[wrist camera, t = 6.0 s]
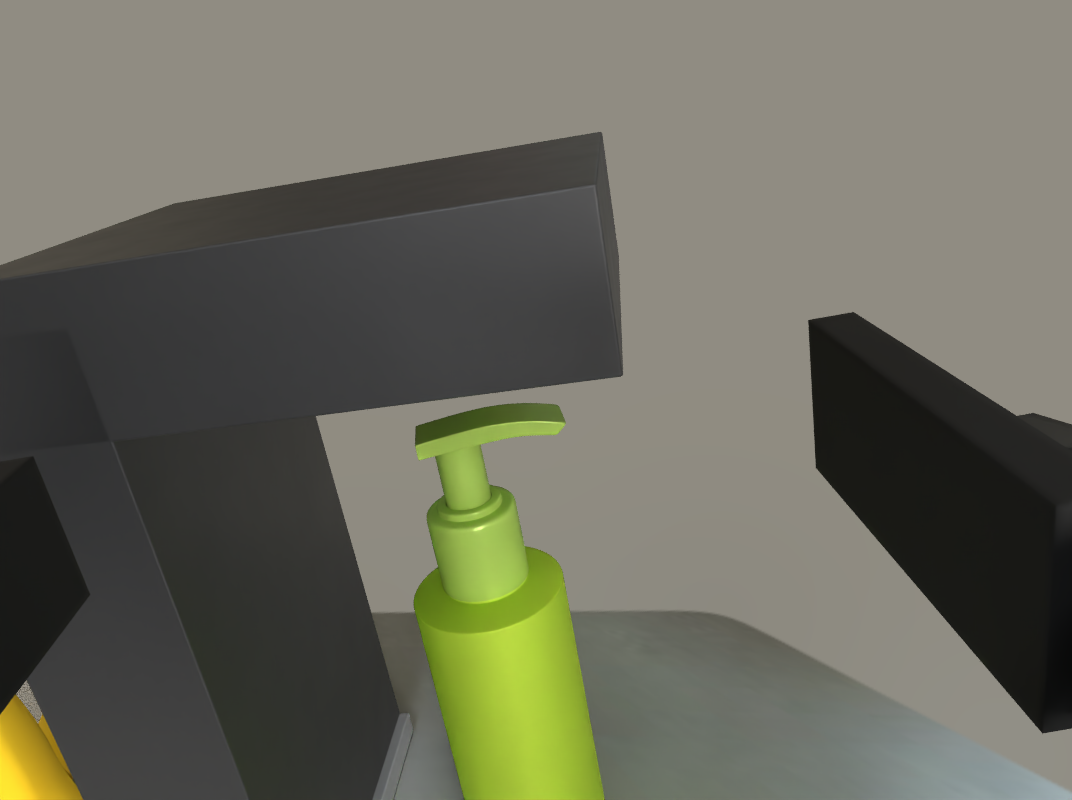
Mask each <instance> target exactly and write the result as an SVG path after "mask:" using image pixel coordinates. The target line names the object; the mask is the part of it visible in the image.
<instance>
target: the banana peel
mask: <svg viewBox="0 0 1072 800" xmlns="http://www.w3.org/2000/svg"><path fill="white" fill-rule="evenodd" d="M72 779H73V777H72V775H71V773H70V771H69V769H68V767H67V764H66V762H65V760H64V758H63V756H62V754H61V752H60V750H59V748H58V745H57V743H56V741H55V739H54V737H53V735H52V733H51V731H50V728H49V726H48V724H47V722H46V720H45V718H44V716H43V714H42V716H41V719H40V721H39V723H37V722H36V720H35V719H34V717H33V716H32V715H31V713H30V712H29V711H28V709H27V708H26V707H25V705H24V704H23V703H22V701H21V700H20V699H19V698H18V697H17V696H16V694H15V696H14V697H13V698H12V700H11V701H10V702H9V704H8V705H7V706H6V708H5V709H4V710H3V712H2V713H1V714H0V800H83V798H82V796H81V794H80V792H79V790H78V788H77V786H76V784H75V783H74V782H73V780H72Z"/></svg>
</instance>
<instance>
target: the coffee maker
mask: <svg viewBox="0 0 1072 800" xmlns="http://www.w3.org/2000/svg"><path fill="white" fill-rule="evenodd" d="M619 281H620V280H619V255H618V248H617V240H616V233H615V225H614V218H613V210H612V204H611V196H610V188H609V181H608V174H607V166H606V159H605V151H604V144H603V136H602V133H601V132H597V133H591V134H585V135H580V136H573V137H567V138H561V139H556V140H550V141H543V142H538V143H531V144H525V145H520V146H514V147H508V148H502V149H496V150H490V151H484V152H479V153H472V154H466V155H461V156H455V157H449V158H442V159H436V160H430V161H425V162H418V163H413V164H407V165H401V166H395V167H389V168H383V169H377V170H371V171H365V172H359V173H353V174H347V175H341V176H335V177H329V178H323V179H317V180H311V181H305V182H300V183H293V184H288V185H282V186H276V187H270V188H264V189H258V190H252V191H246V192H240V193H234V194H228V195H222V196H217V197H210V198H205V199H198V200H193V201H186V202H181V203H175V204H172V205H169V206H166V207H163V208H160V209H158V210H155V211H152V212H149V213H146V214H144V215H141V216H138V217H135V218H132V219H129V220H127V221H124V222H121V223H118V224H115V225H113V226H110V227H107V228H105V229H101V230H99V231H96V232H93V233H90V234H87V235H84V236H82V237H79V238H76V239H73V240H71V241H68V242H65V243H62V244H59V245H57V246H54V247H51V248H48V249H45V250H42V251H39V252H37V253H34V254H31V255H28V256H25V257H23V258H20V259H17V260H14V261H11V262H8V263H6V264H3V265H0V462H1V461H7V460H13V459H18V458H24V457H30V456H34V459H35V461H36V464H37V466H38V469H39V471H40V473H41V476H42V478H43V481H44V483H45V486H46V488H47V490H48V493H49V495H50V498H51V500H52V503H53V505H54V507H55V510H56V512H57V515H58V517H59V520H60V522H61V524H62V527H63V529H64V532H65V534H66V537H67V539H68V541H69V544H70V546H71V549H72V551H73V554H74V556H75V558H76V561H77V563H78V566H79V568H80V571H81V573H82V575H83V578H84V580H85V583H86V585H87V588H88V590H89V592H90V596H89V597H88V598H87V600H86V601H85V602H84V604H83V605H82V606H81V608H80V609H79V610H78V612H77V613H76V614H75V616H74V617H73V618H72V620H71V621H70V622H69V624H68V625H67V626H66V628H65V629H64V630H63V632H62V633H61V634H60V636H59V637H58V638H57V640H56V641H55V642H54V644H53V645H52V646H51V648H50V649H49V650H48V652H47V653H46V654H45V656H44V657H43V658H42V660H41V661H40V662H39V664H38V665H37V666H36V668H35V669H34V670H33V672H32V673H31V674H30V676H29V677H28V678H27V682H28V684H29V686H30V688H31V690H32V692H33V695H34V697H35V699H36V701H37V703H38V705H39V707H40V709H41V712H42V714H43V716H44V718H45V720H46V722H47V724H48V726H49V728H50V731H51V733H52V735H53V737H54V739H55V741H56V743H57V745H58V748H59V750H60V752H61V754H62V756H63V758H64V760H65V762H66V764H67V767H68V769H69V771H70V773H71V775H72V777H73V779H74V781H75V784H76V786H77V788H78V790H79V792H80V794H81V796H82V798H83V800H393V799H394V795H395V792H396V788H397V785H398V781H399V778H400V774H401V771H402V767H403V764H404V761H405V757H406V754H407V750H408V747H409V743H410V740H411V736H412V733H413V727H412V723H411V719H410V716H409V713H399V709H398V706H397V702H396V699H395V695H394V692H393V688H392V685H391V681H390V678H389V674H388V670H387V667H386V663H385V660H384V656H383V653H382V649H381V646H380V642H379V639H378V635H377V632H376V628H375V625H374V621H373V618H372V614H371V610H370V607H369V604H368V600H367V596H366V593H365V589H364V586H363V582H362V579H361V575H360V572H359V568H358V565H357V561H356V557H355V554H354V550H353V547H352V543H351V540H350V536H349V533H348V529H347V526H346V522H345V519H344V515H343V512H342V508H341V504H340V501H339V498H338V494H337V490H336V487H335V483H334V480H333V476H332V473H331V469H330V466H329V462H328V459H327V455H326V451H325V448H324V444H323V441H322V437H321V434H320V430H319V427H318V423H317V420H316V416H318V415H326V414H334V413H342V412H348V411H356V410H364V409H372V408H380V407H387V406H396V405H403V404H411V403H419V402H426V401H435V400H442V399H449V398H458V397H465V396H473V395H480V394H489V393H496V392H504V391H511V390H519V389H528V388H535V387H543V386H551V385H559V384H567V383H574V382H582V381H590V380H598V379H605V378H613V377H621V376H622V375H623V360H622V333H621V306H620V282H619Z"/></svg>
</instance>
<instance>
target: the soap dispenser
mask: <svg viewBox="0 0 1072 800" xmlns="http://www.w3.org/2000/svg"><path fill="white" fill-rule="evenodd" d="M565 424H566V422H565V420H564V417H563V415H562V413H561V410H560V408H559V406H558V405H554V404H540V403H539V404H538V403H520V404H519V403H517V404H504V405H496V406H490V407H484V408H480V409H475V410H471V411H467V412H463V413H459V414H456V415H452V416H448V417H445V418H441V419H438V420H434V421H431V422H428V423H425V424H422V425H418V426H416V435H415V447H416V451H417V456H418V460H422V459H426V458H429V457H434V456H435V458H436V462H437V466H438V470H439V475H440V479H441V483H442V488H443V492H444V495H443V496H442V497H441V498H440V499H438V500H437V501H436V502H435V503H434V504H433V505H432V506H431V507H430V509H429V510H428V513H427V523H428V527H429V532H430V536H431V540H432V544H433V548H434V552H435V556H436V560H437V564H438V568H436V569H435V570H434V571H432V572H431V573H430V574H429V575H428V576H427V577H426V578H425V579H424V580H423V581H422V583H421V584H420V585H419V587H418V589H417V591H416V594H415V597H414V610H415V614H416V617H417V621H418V625H419V629H420V633H421V636H422V640H423V644H424V648H425V652H426V655H427V659H428V663H429V667H430V671H431V674H432V678H433V682H434V686H435V690H436V693H437V697H438V701H439V705H440V709H441V712H442V716H443V720H444V724H445V728H446V732H447V735H448V739H449V743H450V747H451V751H452V754H453V758H454V762H455V766H456V770H457V773H458V777H459V781H460V785H461V789H462V792H463V796H464V800H605V798H604V793H603V788H602V782H601V777H600V771H599V766H598V761H597V755H596V750H595V744H594V739H593V734H592V728H591V723H590V717H589V712H588V707H587V701H586V696H585V690H584V685H583V680H582V674H581V669H580V663H579V658H578V653H577V647H576V642H575V636H574V631H573V626H572V620H571V615H570V609H569V604H568V599H567V594H566V588H565V582H564V577H563V572H562V569H561V567H560V565H559V563H558V562H557V561H556V560H555V559H554V558H553V557H552V556H550V555H549V554H547V553H545V552H543V551H541V550H538V549H535V548H531V547H526V546H524V541H523V536H522V531H521V526H520V521H519V516H518V511H517V507H516V502H515V499H514V496H513V495H512V494H511V493H510V492H509V491H508V490H506V489H504V488H502V487H498V486H493V485H489V483H488V478H487V473H486V469H485V464H484V459H483V455H482V450H481V444H484V443H488V442H493V441H497V440H502V439H507V438H512V437H520V436H531V435H556V434H558V433H559V432H560V431H561V430H562V428H563V427H564V425H565Z"/></svg>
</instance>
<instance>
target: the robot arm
mask: <svg viewBox="0 0 1072 800" xmlns="http://www.w3.org/2000/svg"><path fill="white" fill-rule="evenodd" d="M808 323H809V342H810V361H811V379H812V400H813V418H814V437H815V458H816V468H817V469H818V471H819V472H820V473H821V474H822V475H823V477H824V478H825V479H826V480H827V481H828V482H829V484H830V485H831V486H832V487H833V488H834V489H835V491H836V492H837V493H838V494H839V495H840V496H841V498H842V499H843V500H844V501H845V502H846V504H847V505H848V506H849V507H850V508H851V509H852V510H853V512H854V513H855V514H856V515H857V516H858V518H859V519H860V520H861V521H862V522H863V523H864V524H865V526H866V527H867V528H868V529H869V530H870V532H871V533H872V534H873V535H874V536H875V537H876V539H877V540H878V541H879V542H880V543H881V545H882V546H883V547H884V548H885V549H886V550H887V551H888V553H889V554H890V555H891V556H892V557H893V559H894V560H895V561H896V562H897V563H898V564H899V566H900V567H901V568H902V569H903V570H904V572H905V573H906V574H907V575H908V576H909V577H910V578H911V580H912V581H913V582H914V583H915V584H916V586H917V587H918V588H919V589H920V590H921V591H922V593H923V594H924V595H925V596H926V597H927V598H928V600H929V601H930V602H931V603H932V604H933V605H934V607H935V608H936V609H937V610H938V611H939V613H940V614H941V615H942V616H943V617H944V618H945V620H946V621H947V622H948V623H949V624H950V625H951V627H952V628H953V629H954V630H955V631H956V632H957V634H958V635H959V636H960V637H961V638H962V639H963V641H964V642H965V643H966V644H967V645H968V647H969V648H970V649H971V650H972V651H973V652H974V654H975V655H976V656H977V657H978V658H979V659H980V661H981V662H982V663H983V664H984V665H985V666H986V668H987V669H988V670H989V671H990V672H991V673H992V675H993V676H994V677H995V678H996V679H997V680H998V682H999V683H1000V684H1001V685H1002V686H1003V688H1004V689H1005V690H1006V691H1007V692H1008V693H1009V694H1010V696H1011V697H1012V698H1013V699H1014V700H1015V701H1016V703H1017V704H1018V705H1019V706H1020V707H1021V709H1022V710H1023V711H1024V712H1025V713H1026V715H1027V716H1028V717H1029V718H1030V719H1031V720H1032V721H1033V723H1034V724H1035V725H1036V726H1037V727H1038V728H1039V730H1040V731H1041V732H1042V733H1047V732H1053V731H1058V730H1065V729H1071V728H1072V425H1071V424H1068V423H1065V422H1061V421H1058V420H1054V419H1051V418H1048V417H1045V416H1041V415H1038V414H1035V413H1031V414H1026V415H1020V416H1016V415H1014V414H1013V413H1011V412H1010V411H1008V410H1006V409H1005V408H1003V407H1002V406H1000V405H999V404H997V403H995V402H994V401H992V400H991V399H989V398H988V397H986V396H984V395H983V394H981V393H980V392H978V391H976V390H975V389H973V388H972V387H970V386H969V385H967V384H966V383H964V382H962V381H961V380H959V379H958V378H956V377H954V376H953V375H951V374H950V373H948V372H947V371H945V370H944V369H942V368H941V367H939V366H937V365H936V364H934V363H932V362H931V361H929V360H928V359H926V358H925V357H923V356H922V355H920V354H918V353H917V352H915V351H914V350H912V349H911V348H909V347H907V346H906V345H904V344H903V343H901V342H900V341H898V340H896V339H895V338H893V337H892V336H890V335H889V334H887V333H885V332H884V331H882V330H881V329H879V328H877V327H876V326H875V325H873V324H871V323H870V322H868V321H866V320H865V319H864V318H862V317H860V316H859V315H857V314H856V313H854V312H852V313H847V314H841V315H835V316H829V317H824V318H818V319H812V320H808ZM89 596H90V592H89V590H88V588H87V585H86V583H85V580H84V578H83V575H82V573H81V571H80V568H79V566H78V563H77V561H76V558H75V556H74V554H73V551H72V549H71V546H70V544H69V541H68V539H67V537H66V534H65V532H64V529H63V527H62V524H61V522H60V520H59V517H58V515H57V512H56V510H55V507H54V505H53V503H52V500H51V498H50V495H49V493H48V490H47V488H46V486H45V483H44V481H43V478H42V476H41V473H40V471H39V469H38V466H37V464H36V461H35V459H34V456H30V457H24V458H18V459H13V460H7V461H1V462H0V714H1V713H2V712H3V710H4V709H5V708H6V706H7V705H8V704H9V702H10V701H11V700H12V698H13V697H14V696H15V694H16V693H17V692H18V690H19V689H20V688H21V686H22V685H23V684H24V682H25V681H26V680H27V678H28V677H29V676H30V674H31V673H32V672H33V670H34V669H35V668H36V666H37V665H38V664H39V662H40V661H41V660H42V658H43V657H44V656H45V654H46V653H47V652H48V650H49V649H50V648H51V646H52V645H53V644H54V642H55V641H56V640H57V638H58V637H59V636H60V634H61V633H62V632H63V630H64V629H65V628H66V626H67V625H68V624H69V622H70V621H71V620H72V618H73V617H74V616H75V614H76V613H77V612H78V610H79V609H80V608H81V606H82V605H83V604H84V602H85V601H86V600H87V598H88V597H89Z"/></svg>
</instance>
